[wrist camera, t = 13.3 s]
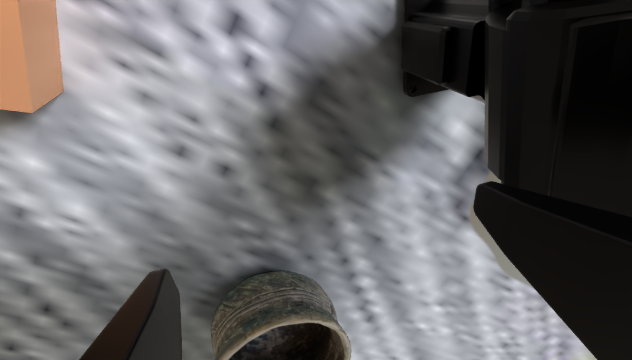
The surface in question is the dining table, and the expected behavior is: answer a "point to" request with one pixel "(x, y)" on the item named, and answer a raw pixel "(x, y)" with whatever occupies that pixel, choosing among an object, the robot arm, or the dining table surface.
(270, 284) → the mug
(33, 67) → the terracotta block
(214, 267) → the dining table surface
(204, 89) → the dining table surface
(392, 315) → the dining table surface
